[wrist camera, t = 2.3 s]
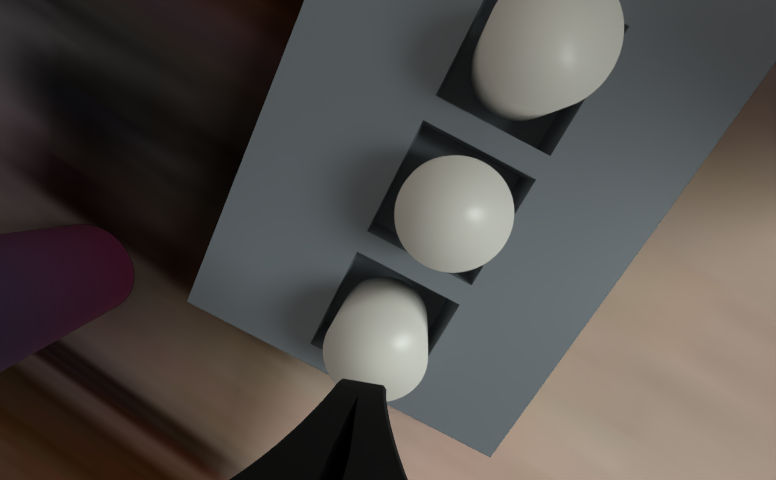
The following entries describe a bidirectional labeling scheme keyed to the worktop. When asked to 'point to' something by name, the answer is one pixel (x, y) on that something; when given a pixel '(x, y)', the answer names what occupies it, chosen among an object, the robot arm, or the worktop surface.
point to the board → (488, 144)
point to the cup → (57, 285)
